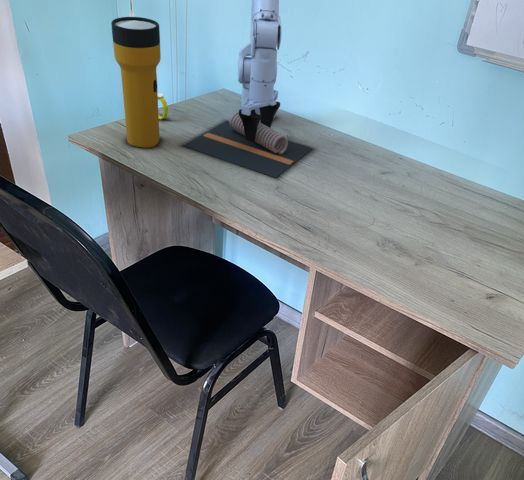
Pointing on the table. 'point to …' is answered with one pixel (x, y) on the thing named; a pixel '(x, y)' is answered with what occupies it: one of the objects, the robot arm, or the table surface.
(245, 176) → the table surface
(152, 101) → the flashlight
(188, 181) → the table surface
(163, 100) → the watch
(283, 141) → the coil
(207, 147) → the mat
